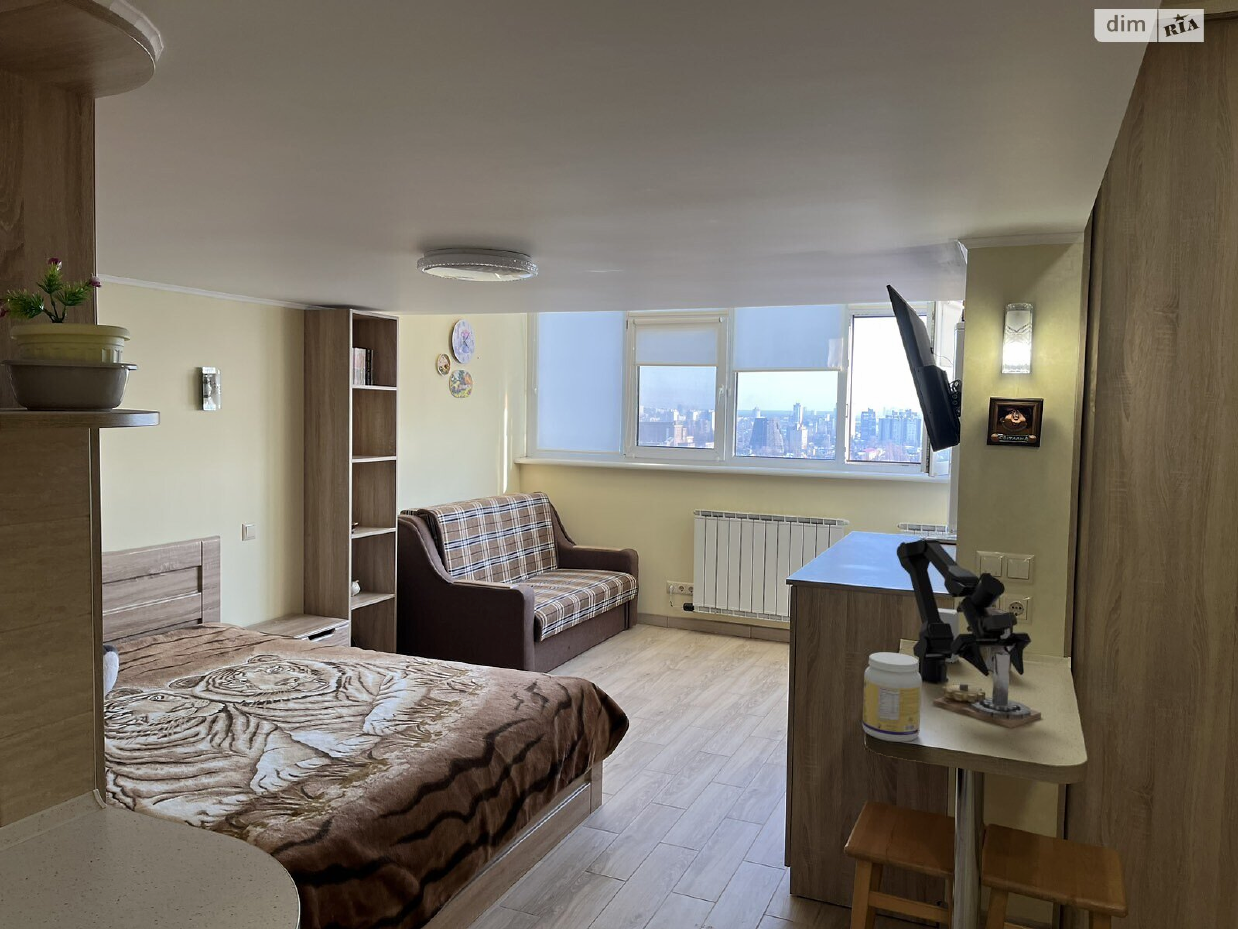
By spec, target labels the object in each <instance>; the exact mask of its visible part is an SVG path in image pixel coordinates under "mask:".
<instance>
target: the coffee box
mask: <svg viewBox="0 0 1238 929" xmlns="http://www.w3.org/2000/svg"><path fill="white" fill-rule="evenodd" d="M987 609H988V611H989V613H990V615H1003V614H1004V613H1007V612H1008V611H1006V610H1003V609H1001V608H987ZM1004 631H1005V634H1004V635H1001V638H1007V637H1008V636H1009V635H1010V634H1011V633H1012V632H1014V627H1013V628H1011V629H1010V628H1009V629H1006V630H1004ZM980 652H981V655H982V657H983V659H984V662H985V664H986V666H987V668H988V671H994V653H995V652H1004V653H1008V652H1006V651H1005V650H1004V648H1003V647H980ZM1011 671H1012V663H1011V662H1010V664H1009V672H1011Z"/></svg>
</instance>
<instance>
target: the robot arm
mask: <svg viewBox="0 0 1238 929" xmlns="http://www.w3.org/2000/svg"><path fill="white" fill-rule="evenodd" d="M896 556H897V558H898V561H899V563H900V566H901V567H902V568H903V569H904V570H905V572H907V574H908V576H909V577H910V582H911V585H912V588H913V590H912V591H913V592H914V597H915V601H916V605H917V608H918V613H919V616H920V620H921V626H920V629H919V632H918V637H919V639H918V640H917V642H916V643H915V644H914V645H913V648H912V650H913V655H914V656H915V657H917V658H918V666H919V669H918V670H917V672H918V673H919V674H920V675H921V678H922V682H926V683H932V684H935V685H936V684H941V683H944V682H948V681H949V678H948V677H947V675H948V664H947V662H946V659H945V658H949V659H951V657H952V653H953V654H954V655H959V659H964V660H965V661H966V662H968V663H969V664H970V665H972V666H973V667H974V668H976V669H977V671H979V672H980V673H981V674H983V676H985V677H989V675H990V672H989V671H990V670H989V669H988V668H987V666H986V664H985V662H984V659H983V657H982V655H981V652H980V647H1003V648H1004V650H1005V651H1006V652H1008V654H1010V662H1011V665H1012V666H1013V668H1014V669H1015V670H1016V672H1017V673H1018V674H1019V675H1020V676H1023V675H1024V673H1025V671H1024V669H1025V668H1024V650H1025V648H1027V646H1029V644H1031V642H1032V638H1031V637H1030V635H1029V634H1028V633H1027V632H1025V631H1018V632H1017V631H1016V632H1015V631H1013V632H1012V633H1011V634H1010V635H1009V636H1008V637H1007V638H1001V635H1004V634H1005V631H1004V630H1006V629H1009V628H1010V629H1011V628H1013V629H1014V626H1017V624H1018V620H1017V616H1016V614H1015V613H1014V611H1006V612H1007V613H1004V614H1003V615H990V613H989V611H988V609H990V608H992V607H993V606H994V604H995V603H997V601H998V600H999V599H1000V597H1002V595H1003V594H1004V593H1005V591H1006V590H1005V588H1006V587H1005V585H1004V583H1003V582H1002V581H1001V580H999V579H998V578H996V577H994V576H992V574H991V572H982V573H981V574H980V576H979V577H978V576H977V575H976V574H974V573H973V572H972V571H970V570H969V569H966V568H963V567H961V566H960V565H959V564H958V563H957V561H955V560H954V559H953V557H952V556H951V555H950V554H949V553H948V552H947V550H946V549H945V548H943V546H942V544H941V542H940V540H938V539H936V538H921V539H919V540H915V541H909V542H908V541H904V542H902V541H901V543H900V544H899V546H897V548H896ZM930 563H931V564H932V566H933V567H934V568H935V569H936V571H937V572H938V573H939V574H940V575H941V576H942V578H943V579H944V583H943V585H944V587H945V589H946V591H947V592H948V594H949V595H950V596H951V597H952V598H962V600H961V601H958V605H957V606H956V609H955V610H956V611H957V612H959V613H963V616H964V618H965V621H966V622H967V624H968V626H966V630H967V632H968V633H959V635H958V636H957V637H956V639H955V640H954V636H953V633H952V630H951V626H950V624H949V623H944V622H943V621H942V620H941V618H940V615H939V611H938V608H939V607H938V604H937V601H936V597H935V592H934V590H933V586H932V582H931V578H930V576H929V575H930V574H929V572H928V571H929V570H928V569H929V566H930ZM969 632H970V633H969Z"/></svg>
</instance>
